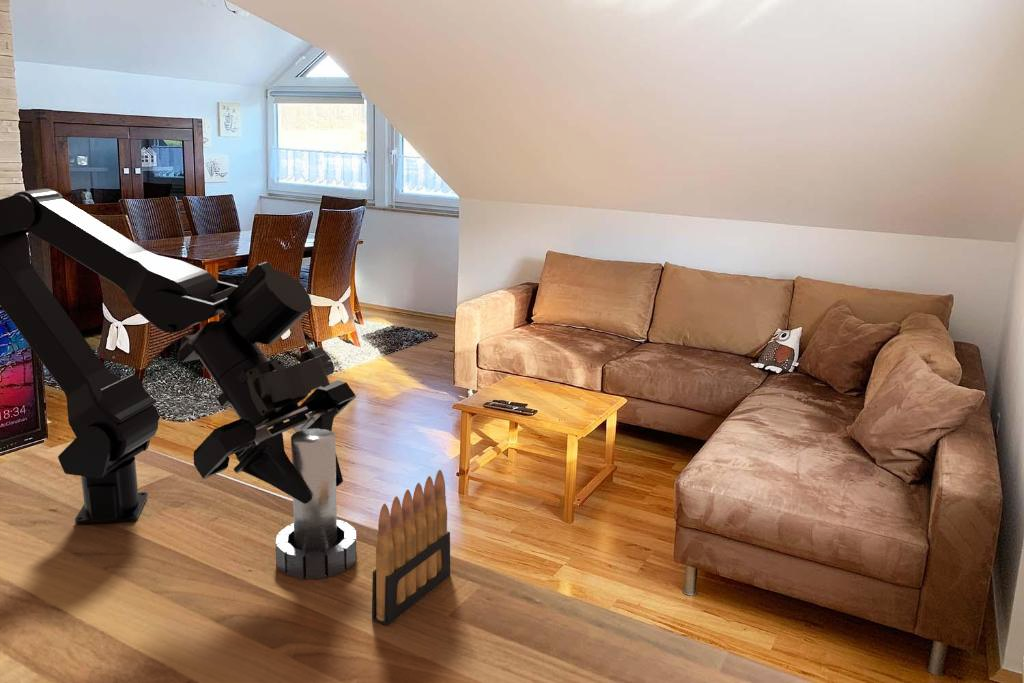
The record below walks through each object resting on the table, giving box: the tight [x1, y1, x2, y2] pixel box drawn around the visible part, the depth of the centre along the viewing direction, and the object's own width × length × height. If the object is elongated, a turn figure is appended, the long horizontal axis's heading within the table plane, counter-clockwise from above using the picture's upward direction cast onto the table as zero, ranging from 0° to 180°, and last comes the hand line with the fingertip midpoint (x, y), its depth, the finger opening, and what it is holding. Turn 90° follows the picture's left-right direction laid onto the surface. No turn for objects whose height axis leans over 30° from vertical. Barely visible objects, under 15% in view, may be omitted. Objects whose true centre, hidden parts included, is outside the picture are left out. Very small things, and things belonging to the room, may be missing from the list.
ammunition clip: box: [371, 469, 451, 626], centre depth 83 cm, size 11×2×12 cm, turn 150°
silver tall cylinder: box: [290, 429, 338, 551], centre depth 89 cm, size 4×4×12 cm
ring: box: [275, 519, 357, 580], centre depth 91 cm, size 8×8×2 cm
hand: (324, 492), depth 88 cm, fingers closed on silver tall cylinder, 4 cm apart
